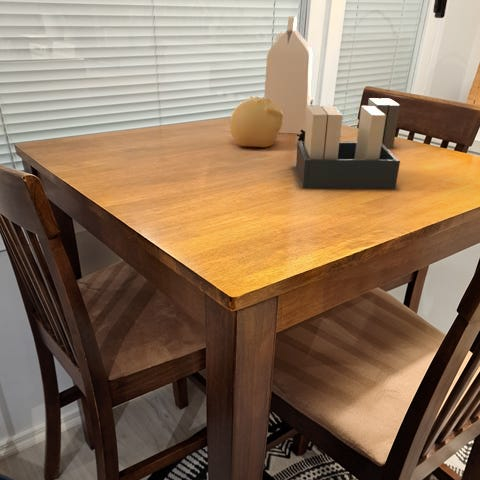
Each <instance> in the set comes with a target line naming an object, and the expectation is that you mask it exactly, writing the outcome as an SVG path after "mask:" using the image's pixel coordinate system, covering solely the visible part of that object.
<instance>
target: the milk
mask: <svg viewBox="0 0 480 480" xmlns="http://www.w3.org/2000/svg"><path fill="white" fill-rule="evenodd" d="M297 23H298V16H288V21H287V27H286V31H285V32H283V31H280V32H279V33H278V34H277V35H276V36H275V38H274V39H273V42H274V44H272V46H271V47H270V48H269V49H268V51H267V53H266V66H265V67H266V68H265V79H264V80H265V81H264V96H263V97H265V98H268V99H270V101H271V102H272V103H273V104H274V105H276V107H278V108H279V109H280V110H281V111H282V114H283V119H282V126H281V129H280V130H279V133H278V134H294V135H295V134H296V135H297V134H298V135H300V134H302V133H301V132H300V131H301V130H303V131H306V117H307V106H311V101H312V75H313V48H312V47H311V45H310V44H309V43H308V41H306V38H305V37H303V35H302V34H301V33H300V32H299V30H298V29H297V27H298V26H297Z"/></svg>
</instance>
